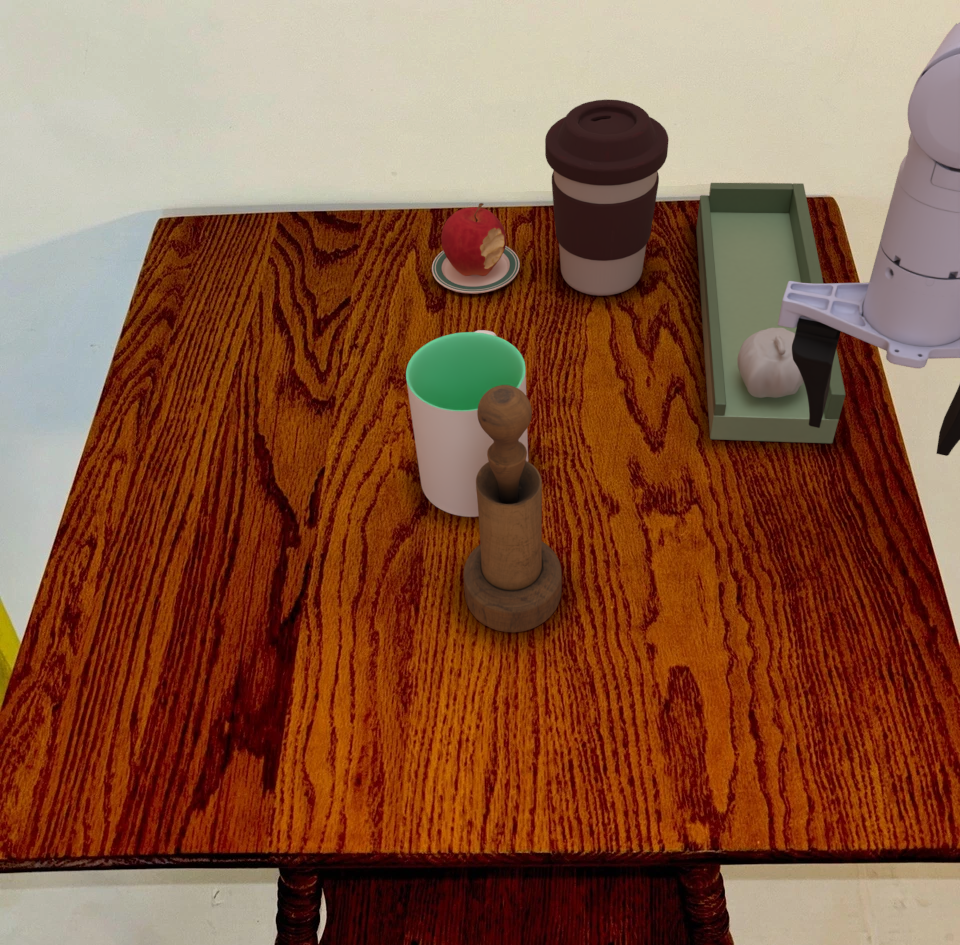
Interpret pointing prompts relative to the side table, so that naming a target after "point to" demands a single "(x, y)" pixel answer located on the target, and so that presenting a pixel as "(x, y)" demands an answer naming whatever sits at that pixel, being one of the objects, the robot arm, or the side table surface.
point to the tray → (755, 305)
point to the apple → (474, 253)
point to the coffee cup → (604, 192)
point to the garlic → (769, 364)
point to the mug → (457, 411)
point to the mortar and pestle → (510, 525)
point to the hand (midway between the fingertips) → (879, 430)
